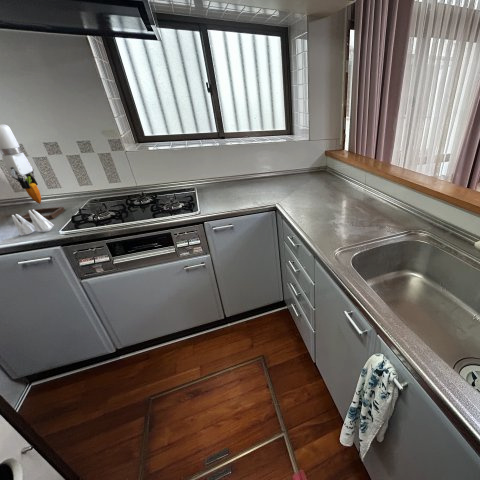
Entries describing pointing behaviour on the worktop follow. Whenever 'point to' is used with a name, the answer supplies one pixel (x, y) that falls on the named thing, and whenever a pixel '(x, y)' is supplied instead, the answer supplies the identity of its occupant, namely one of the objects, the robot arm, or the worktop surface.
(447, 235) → the worktop surface
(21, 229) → the shaker set
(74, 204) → the worktop surface
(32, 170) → the robot arm
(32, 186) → the carrot
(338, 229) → the worktop surface
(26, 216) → the frame
